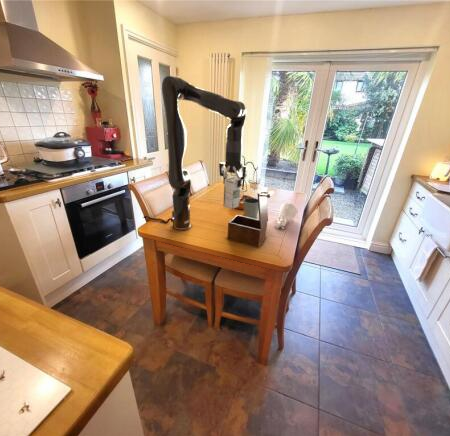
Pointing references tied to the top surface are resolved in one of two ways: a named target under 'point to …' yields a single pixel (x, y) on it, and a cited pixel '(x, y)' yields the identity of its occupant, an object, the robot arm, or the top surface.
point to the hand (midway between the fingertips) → (232, 186)
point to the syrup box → (231, 193)
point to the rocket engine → (286, 214)
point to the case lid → (263, 206)
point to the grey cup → (250, 207)
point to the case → (246, 230)
